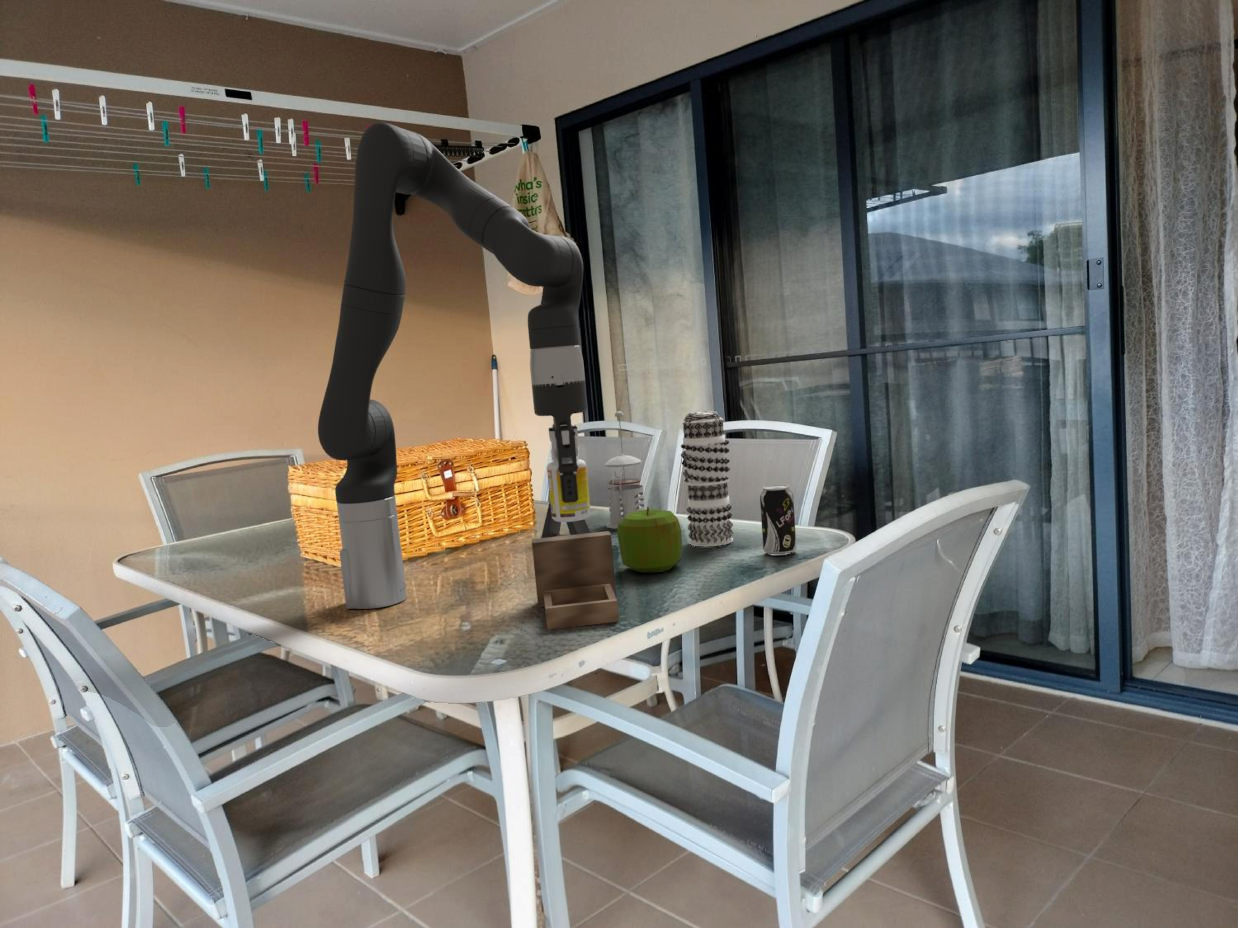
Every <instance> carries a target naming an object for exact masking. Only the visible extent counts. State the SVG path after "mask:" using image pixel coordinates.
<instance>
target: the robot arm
mask: <svg viewBox="0 0 1238 928" xmlns="http://www.w3.org/2000/svg"><path fill="white" fill-rule="evenodd" d="M356 151H357V152H356V156H355V157H356V159H355V169H354V191H353V192H354V193H353V212H352V224H351V231H350V232H351V234H350V243H349V249H348V259H347V263H346V264H347V265H346V270H345V277H344V281H343V287H342V294H341V301H340V302H341V303H340V311H339V320H338V327H337V332H336V338H335V344H334V350H333V356H332V364H331V369H330V372H329V377H328V381H327V385H326V389H325V391H324V396H323V400H322V403H321V409H320V412H319V416H318V423H317V434H318V435H317V436H318V441H319V444H320V446H321V448H322V449H323V451H324V452H325V454H326V455H327V456H329V458H332V460H333V459H334V460H336V461H346V465H347V466H346V470H345V473H344V475H343V476H342V478H341V479H340V480H339V481H338V483H336V485H335V487H334V489H335V491H334V493H335V501H336V507H337V515H338V524H339V531H340V532H339V533H340V539H341V540H340V541H341V549H340V551H339V559H340V567H341V576H342V584H343V592H344V600H345V607H346V609H347V610H350V609H358V610H361V609H362V610H370V609H378V608H384V607H388V606H389V607H390V606H393V605H396V604H399V603H401V602H403V601H405V600H406V599H407V598H408V597H407V586H406V579H405V570H404V562H403V552H402V546H401V545H402V544H401V534H400V525H399V518H398V510H397V501H396V491H395V484H396V482H397V481H396V480H397V476H398V460H397V459H398V458H397V447H396V446H397V444H396V443H397V442H396V434H395V426H394V422H393V419H392V416H391V413H390V411H389V410H388V409H387V408H386V407H385V405H383V404H382V403H381V402H379V401H377V400H375V399H371V393H372V387H373V384H374V383H373V382H374V379H375V377H376V373H377V372H378V371H377V370H378V368H379V367H380V364H381V363H382V361H383V359H384V357H385V355H386V354H387V353H388V350H389V348H390V347H391V345H392V343H393V341H394V339H395V338H396V335H397V333H398V331H399V328H400V324H401V321H402V314H403V310H404V303H405V297H406V292H407V291H406V290H407V278H406V272H405V267H404V265H403V261H402V257H401V254H400V251H399V248H398V245H397V242H396V237H395V233H394V225H393V222H394V221H393V216H394V207H395V200H396V193H398V194H402V195H412V196H414V197H417V198H421V199H423V200H425V201H428V202H429V203H432V204H434V205H436V206H437V207H440V209H442V210H443V211H444V212H445V213H447V215H448V216H449V217H450V218H451V220H452V222H453V224H455V226H456V227H457V229H459V230H460V231H461V232H462V233H463V234H465V236H467V237H468V238H469V239H471V240H472V241H473V242H475V243H477V245H479V246H481V247H482V248H484V249H485V250H486V251H487V252H490V253H491V254H493V255H494V257H495V258H496V260H498V262H499V264H501V265H502V267H503V268H504V269H505V270H506V272H508V273H509V274H510V275H511V276H512V277H513V278H514V279H516V280H517V281H519V282H521V283H523V284H525V285H528V286H531V287H541V288H542V292H541V293H542V294H541V301H540V304H538V305H536V306H534V307H533V308H531V309H530V310H529V312H528V314H527V331H528V332H527V333H528V343H529V351H530V354H529V355H530V356H529V371H530V372H529V373H530V383H531V390H532V391H531V392H532V401H533V402H532V403H533V410H534V411H533V412H534V415H536V416H537V417H550V416H551V417H552V418H553V420H552V421H553V424H551V427H548V437H549V441H550V442H551V449H553V455H554V460H555V461H557V462H558V474H559V476H560V481H561V492H562V500H563V502H564V503H570V502H576V501H578V490H577V480H576V475H577V472H578V465H577V460H576V459H577V458H578V447H579V446H578V438H579V433H578V432H579V431H578V426H576V424H575V425H572V418H571V416H573V415H574V414H581V413H585V412H587V410H588V407H589V406H588V399H587V386H586V376H585V375H586V374H585V366H584V365H585V364H584V358H583V355H582V349H581V341H580V329H579V321H578V320H579V319H578V313H579V308H580V304H581V297H582V288H583V279H584V261H583V257H582V254H581V252H580V249H579V247H578V246H577V244H576V243H575V242H574V241H573V240H572V239H570V238H569V237H566V236H562V235H551V234H543V233H539V232H537V231H535V230H533V229H531V226H530V223H529V220H528V218H526V217H525V215H523V213H521V212H520V211H519V210H517V209H516V208H514V207H513V206H512V205H510V204H508V203H507V202H506V201H504V200H502V199H501V198H499V197H498V196H497V195H495V194H493V193H491V192H490V191H489V190H487V189H485V188H484V187H482V186H481V185H479V184H478V183H476V182H475V181H473V180H472V179H470V178H469V177H467V176H466V175H465V174H464V173H463V172H462V171H460V169H458V168H457V167H456V166H455V165H454V164H453V163H451V161H450V160H449V159H448V158H447V157H446V156H445V155H444V154H443V153H442V152H441V151H440V150H439V149H438V148H437V147H436V146H434V144H433V143H432V142H431V141H429V139H427V138H426V137H424V136H423V135H421V134H419V133H418V132H415V131H411V130H408V129H405V128H401V127H399V126H398V125H393V124H392V123H387V122H382V121H379V122H378V121H377V122H374V123H372V124H370V125H369V126H368V127H366V129H365V131H364V132H363V134H362V135H361V138H360V140H359V143H358V147H357V150H356ZM578 459H579V458H578ZM562 460H571V461H572V463H568V464H562Z"/></svg>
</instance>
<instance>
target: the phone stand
mask: <svg viewBox="0 0 1238 928" xmlns="http://www.w3.org/2000/svg"><path fill="white" fill-rule="evenodd" d="M545 515H546V516H545V520H544V523H543V527H542V533H541V536H540V538H548V537H558V536H567V535H568V534H561V533H560V531H561V525H562V522H557V521H555V520H553V518H552V514H551V504H550V501H549V503H548V507H547V511H546V514H545ZM565 523H566V526H567V528H568V531H569V535H577V534H586V533H591V531H590V529H589V527H588V525H587V522H586V520H585V519H583V520H579V521H572V522H565Z"/></svg>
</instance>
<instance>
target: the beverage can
mask: <svg viewBox="0 0 1238 928" xmlns="http://www.w3.org/2000/svg"><path fill="white" fill-rule="evenodd" d="M762 489H763V490H762V491H761V494H760V495H759V501H760V503H759V504H760V517H761V518H760V519H761V531H762V532H761V535H762V549H763V551H764V553H766V554H768V553H769V554H785V553H791V552H792V553H793V552H795V551H796V550H797V537H796V536H797V535H796V534H797V533H796V517H795V500H794V494H793V492H792V491H791V490H790V485H788V484H771V485H766V486H763V487H762ZM769 554H768V555H769Z"/></svg>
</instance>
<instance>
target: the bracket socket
mask: <svg viewBox="0 0 1238 928" xmlns="http://www.w3.org/2000/svg"><path fill="white" fill-rule="evenodd" d="M566 535H567V536H558V537H548V538H541V537H540V538H531V547H532V558H533V567H534V578H535V588H536V597H537V598H536V599H537V608H544V609H545V610H544V611H545V612H544V613H545V618H546V619H545V620H546V621H545V622H546V628H547V629H546V630H548V631H549V630H557V629H565V628H575V627H581V626H582V627H583V626H584V627H585V626H591V625H600V624H608V623H609V624H610V623H618V622H620V621H619V620H620V619H619V618H620V617H619V607H618V600H617V588H616V577H615V565H614V564H615V563H614V555H613V543H612V542H613V541H612V534H611V532H610V530H609V531H608V530H607V531H600V532H597V531H596V532H590V533H586V534H577V535H570V534H566Z"/></svg>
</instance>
